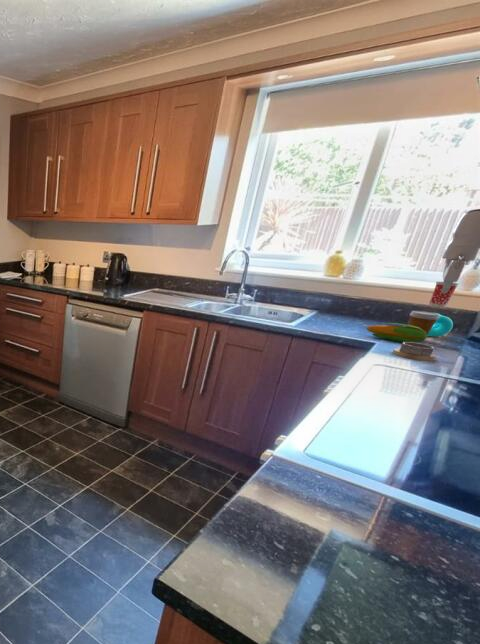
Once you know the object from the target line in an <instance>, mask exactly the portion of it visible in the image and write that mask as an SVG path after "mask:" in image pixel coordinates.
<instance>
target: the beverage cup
mask: <svg viewBox="0 0 480 644" xmlns="http://www.w3.org/2000/svg"><path fill="white" fill-rule="evenodd" d="M443 285H444V282H443V281H436V282H435V287H434V289H433V292H432V296H431V298H430V301H429V303H428V306H430V307H436V308H446V307H447V305H448V303H449V301H450V300H451V298H452V296H453V294H454V292H455V291H456V289H457V287H459V285H460V283H458V282H453V284H452V285H451V287H450V289H449V291H448V293H441V290H442V288H443Z"/></svg>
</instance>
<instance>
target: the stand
mask: <svg viewBox="0 0 480 644" xmlns="http://www.w3.org/2000/svg"><path fill="white" fill-rule="evenodd" d="M434 349H435V347H434V346H433V345H429V344H425V343H421V342H417V343H414V342H401V345H400V347H395V348H393V350H392V354H394V355H396V356H398V357H402V358H406V359H410V360H416V361H422V362H423V361H424V362H434V361H436V358H437V355H436V354H434V353H433V352H434Z"/></svg>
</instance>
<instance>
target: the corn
mask: <svg viewBox="0 0 480 644" xmlns="http://www.w3.org/2000/svg"><path fill="white" fill-rule="evenodd" d="M407 326H409V327H407ZM410 327H414V328H410ZM365 328H366V330H367V331H368V332H370V333H372V334H371V335H372V336H373V337H376V338H379V339H382V340H387V341H394V342H398V343H403V342H414V343H421V342H424V341H425V340H427V337H428V335H427V334H426V332H425V331H424V330H422V329H421V328H419V327H416V326H412V325H408V324H405V323H395V322H394V323H393V322H388V325H386V324H385V325H384V324H373V325H369V326H366V327H365ZM417 328H418V329H417ZM419 329H420V330H419ZM421 330H422V331H421ZM423 331H424V332H423Z"/></svg>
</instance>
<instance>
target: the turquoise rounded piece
mask: <svg viewBox="0 0 480 644" xmlns="http://www.w3.org/2000/svg"><path fill="white" fill-rule="evenodd" d="M435 313H436V314H439V318H438V320H436V322H435V323H434V325H433V327H432V328H431V330H430V331H429V333H428V334H427V337H432V338H438V337H442V336H445V335H447V334H449V333H450V331H451V330H452V329H453V326H454V323H453V320H452V319H451V318H450V317H449V316H445V315H442V314H440V313H437V312H435Z"/></svg>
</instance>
